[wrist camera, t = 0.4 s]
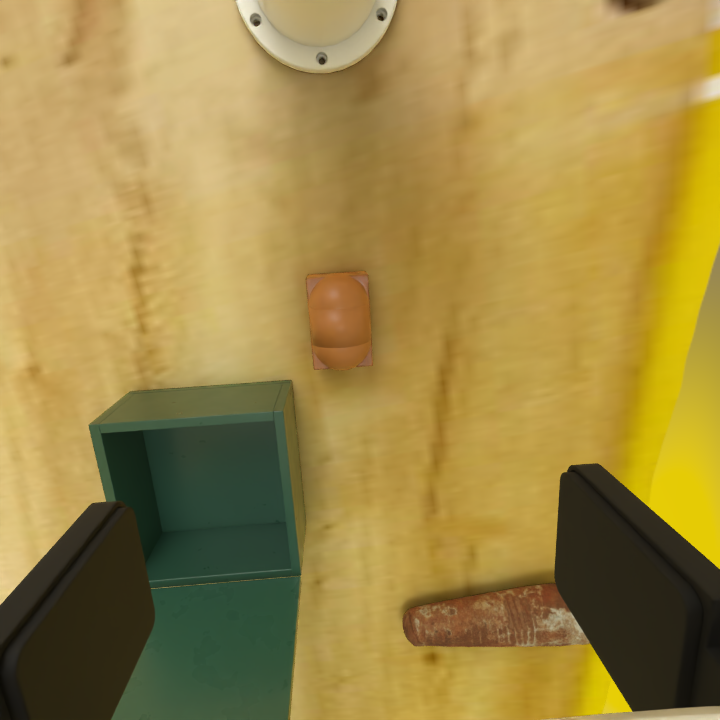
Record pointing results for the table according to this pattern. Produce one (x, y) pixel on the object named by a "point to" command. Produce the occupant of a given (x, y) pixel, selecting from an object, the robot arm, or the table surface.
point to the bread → (496, 620)
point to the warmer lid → (217, 653)
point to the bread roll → (339, 320)
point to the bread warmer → (208, 480)
